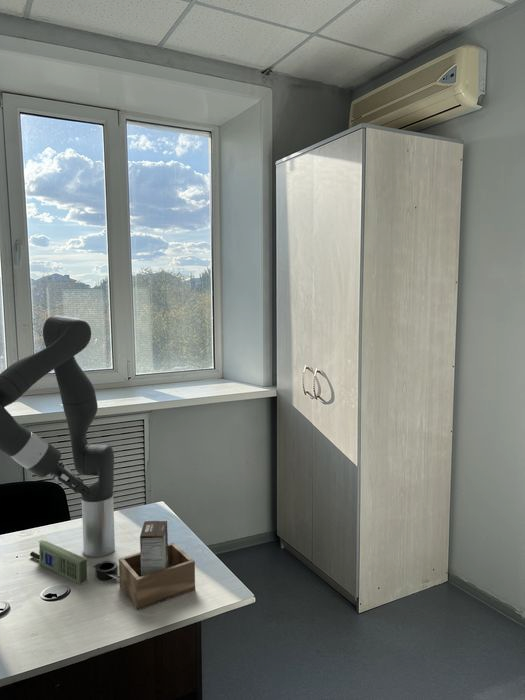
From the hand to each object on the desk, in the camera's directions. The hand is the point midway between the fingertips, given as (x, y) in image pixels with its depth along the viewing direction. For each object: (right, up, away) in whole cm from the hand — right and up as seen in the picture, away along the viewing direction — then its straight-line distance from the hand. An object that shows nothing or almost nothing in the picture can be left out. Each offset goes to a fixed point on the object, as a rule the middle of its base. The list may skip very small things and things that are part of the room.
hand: (85, 489), depth 134 cm
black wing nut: (+1, -28, +14) cm, 31 cm away
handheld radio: (-14, -28, +17) cm, 36 cm away
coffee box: (+16, -28, +7) cm, 33 cm away
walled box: (+17, -28, +7) cm, 34 cm away
